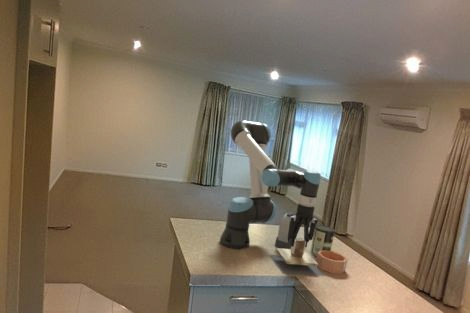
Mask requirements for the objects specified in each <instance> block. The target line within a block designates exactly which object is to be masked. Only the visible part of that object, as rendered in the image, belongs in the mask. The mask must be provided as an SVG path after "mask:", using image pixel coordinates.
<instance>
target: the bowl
mask: <svg viewBox="0 0 470 313" xmlns="http://www.w3.org/2000/svg"><path fill="white" fill-rule="evenodd" d="M315 261H316V262H317V263H318V266H317V267H318V269H319V270H322V271H325V272H329V273H331V274H343V273H344V272H346V269H347V264H348V258H347V257H346V256H345V255H344V254H342V253H339V252H336V251H334V250H331V251H327V250H321V251H319V252H318V254H317V256H316V259H315Z"/></svg>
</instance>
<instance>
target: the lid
mask: <svg viewBox="0 0 470 313" xmlns="http://www.w3.org/2000/svg"><path fill="white" fill-rule="evenodd" d="M296 240H297V242H296V247H295V252H294V254H292V253H291V252H290V251H291V249H284V248H281V247H279V248H278V247H276V248H275V251H276V252H277V253H278V256H281V257H282V259H283V260H284V261H285V262H286V263H287V264H297V265H311V266H315V267H318V263H317V262H316V259H314V258H313V257H312V256H311V255H310V254H309V253H308V252H307V251H306V249H305V250H304V246H305V240H304V238H303V237H296ZM303 251H304V255H303Z"/></svg>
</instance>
